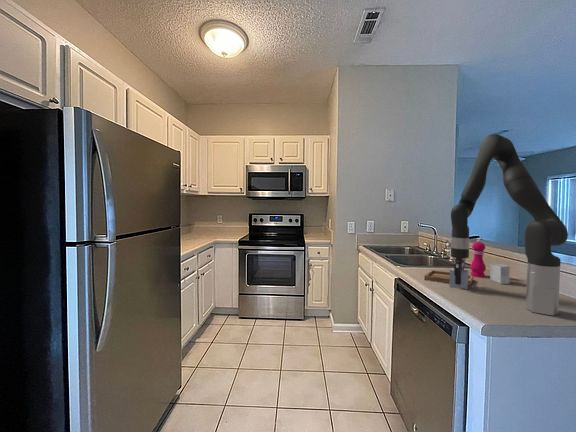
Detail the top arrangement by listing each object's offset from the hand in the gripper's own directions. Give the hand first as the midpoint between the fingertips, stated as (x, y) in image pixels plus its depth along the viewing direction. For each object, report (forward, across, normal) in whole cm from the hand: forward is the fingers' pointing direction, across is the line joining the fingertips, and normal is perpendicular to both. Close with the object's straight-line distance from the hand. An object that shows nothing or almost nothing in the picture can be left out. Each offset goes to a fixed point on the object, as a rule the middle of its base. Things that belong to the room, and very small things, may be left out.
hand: (458, 283), depth 142 cm
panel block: (+2, 0, 0) cm, 2 cm away
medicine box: (+2, +23, -15) cm, 28 cm away
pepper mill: (+2, +31, -5) cm, 31 cm away
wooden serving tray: (+2, +12, +6) cm, 14 cm away
